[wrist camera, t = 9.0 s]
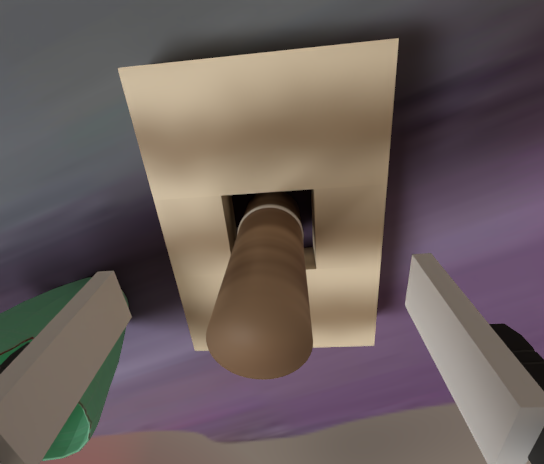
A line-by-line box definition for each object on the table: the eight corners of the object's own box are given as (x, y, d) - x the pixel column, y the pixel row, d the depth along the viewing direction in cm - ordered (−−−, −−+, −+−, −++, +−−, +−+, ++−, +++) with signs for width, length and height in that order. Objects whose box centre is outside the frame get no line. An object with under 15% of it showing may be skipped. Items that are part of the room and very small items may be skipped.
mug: (136, 245, 24) (44, 344, 15) (170, 338, 28) (115, 459, 19) (-32, 261, 25) (-209, 361, 16) (25, 348, 29) (-90, 464, 20)
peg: (240, 190, 21) (193, 300, 11) (300, 186, 21) (313, 295, 10) (247, 242, 23) (213, 381, 12) (302, 239, 23) (316, 379, 12)
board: (142, 70, 18) (117, 67, 16) (381, 44, 17) (398, 38, 14) (204, 324, 27) (195, 350, 24) (365, 318, 26) (374, 345, 23)
